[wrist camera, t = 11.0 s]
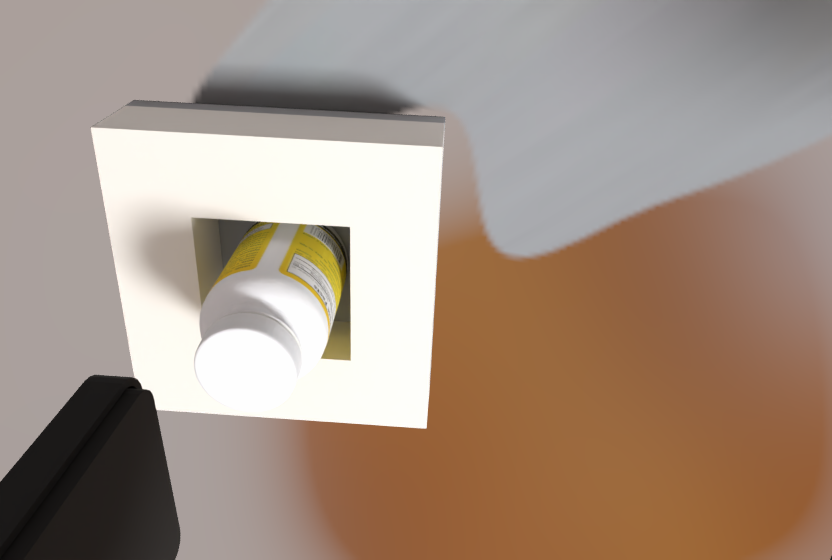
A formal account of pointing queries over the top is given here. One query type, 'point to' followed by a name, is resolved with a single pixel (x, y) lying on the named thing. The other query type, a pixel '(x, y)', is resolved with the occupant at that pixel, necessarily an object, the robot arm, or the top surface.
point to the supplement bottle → (270, 314)
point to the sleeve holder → (282, 203)
